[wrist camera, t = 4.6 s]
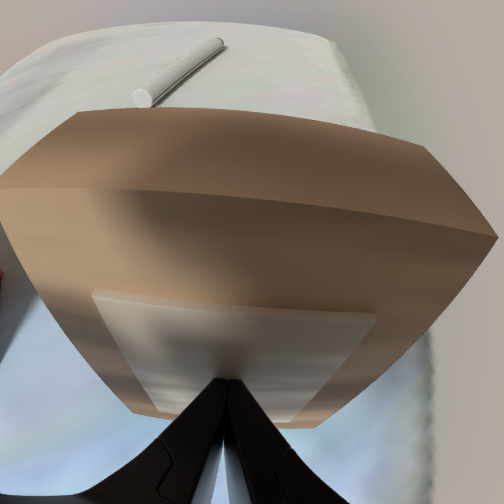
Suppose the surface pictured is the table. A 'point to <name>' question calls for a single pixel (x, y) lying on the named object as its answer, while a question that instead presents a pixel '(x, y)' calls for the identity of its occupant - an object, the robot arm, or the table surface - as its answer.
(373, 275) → the brown cardboard box
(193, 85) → the table surface
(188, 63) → the tube
